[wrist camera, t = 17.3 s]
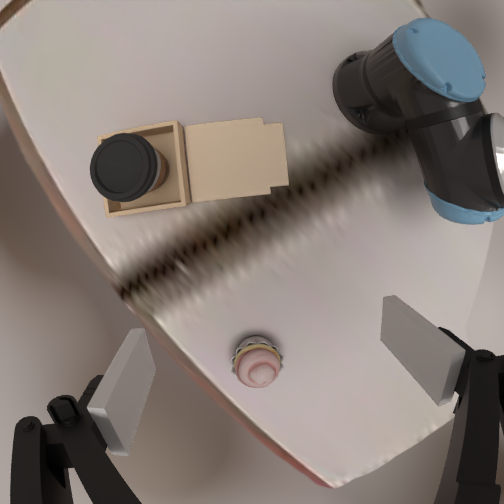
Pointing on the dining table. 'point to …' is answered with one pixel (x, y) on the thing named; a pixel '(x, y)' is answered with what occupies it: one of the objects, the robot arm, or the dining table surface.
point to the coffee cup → (127, 167)
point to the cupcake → (257, 362)
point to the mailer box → (210, 162)
